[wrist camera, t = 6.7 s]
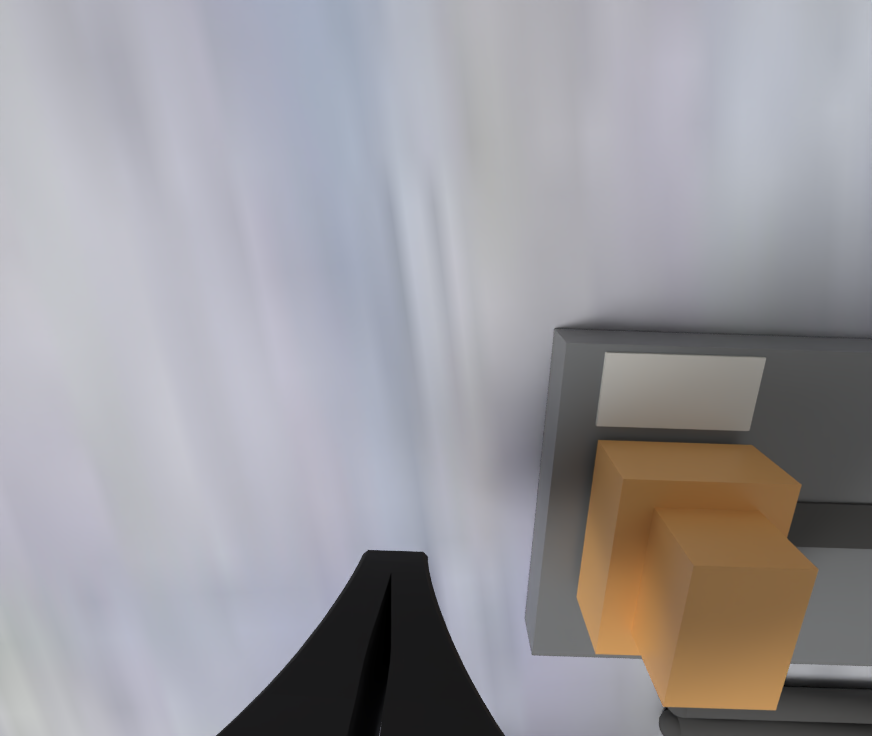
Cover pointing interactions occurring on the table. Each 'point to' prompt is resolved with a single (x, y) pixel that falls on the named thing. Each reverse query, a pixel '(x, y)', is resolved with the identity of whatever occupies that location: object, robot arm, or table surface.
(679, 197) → the table surface
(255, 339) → the table surface
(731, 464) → the breaker toggle
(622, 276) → the table surface
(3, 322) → the table surface
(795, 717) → the cord bundle
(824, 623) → the breaker panel
